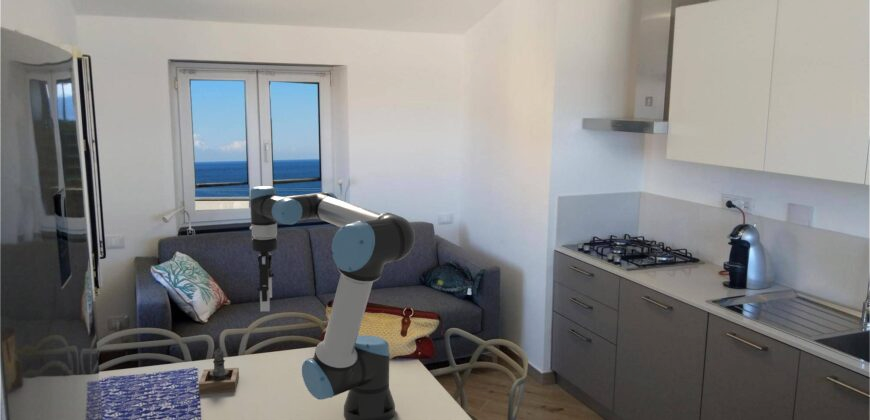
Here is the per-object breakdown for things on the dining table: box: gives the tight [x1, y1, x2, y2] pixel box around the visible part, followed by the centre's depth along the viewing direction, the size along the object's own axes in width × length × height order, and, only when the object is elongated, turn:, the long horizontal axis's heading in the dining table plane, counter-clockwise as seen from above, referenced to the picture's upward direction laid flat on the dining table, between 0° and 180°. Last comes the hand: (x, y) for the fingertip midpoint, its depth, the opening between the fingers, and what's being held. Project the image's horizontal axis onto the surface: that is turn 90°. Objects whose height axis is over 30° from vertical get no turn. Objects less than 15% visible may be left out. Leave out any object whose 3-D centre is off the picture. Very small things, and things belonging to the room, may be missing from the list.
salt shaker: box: [210, 347, 229, 381], centre depth 212 cm, size 6×6×12 cm
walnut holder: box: [198, 367, 240, 395], centre depth 213 cm, size 11×11×3 cm
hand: (266, 304), depth 205 cm, fingers open, 13 cm apart
